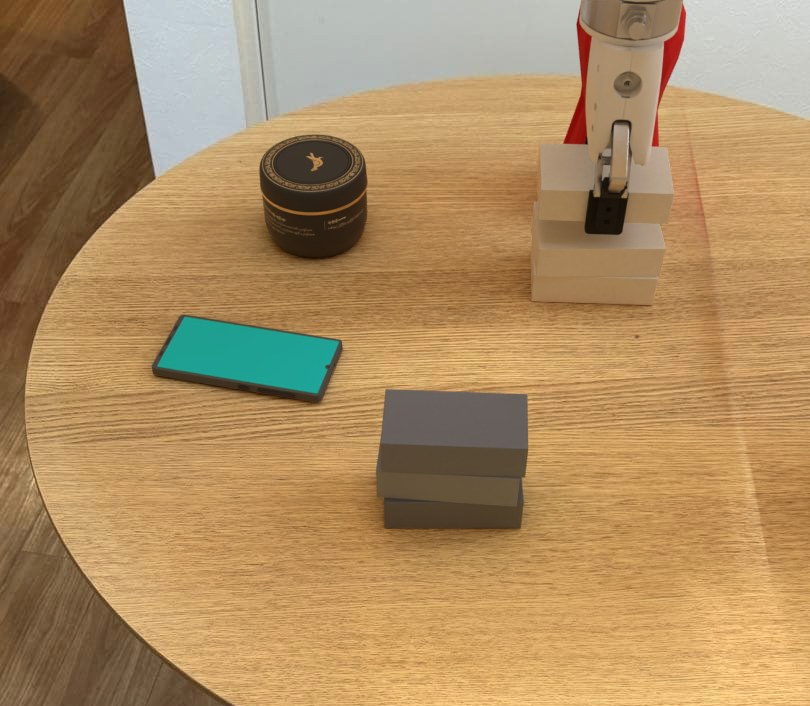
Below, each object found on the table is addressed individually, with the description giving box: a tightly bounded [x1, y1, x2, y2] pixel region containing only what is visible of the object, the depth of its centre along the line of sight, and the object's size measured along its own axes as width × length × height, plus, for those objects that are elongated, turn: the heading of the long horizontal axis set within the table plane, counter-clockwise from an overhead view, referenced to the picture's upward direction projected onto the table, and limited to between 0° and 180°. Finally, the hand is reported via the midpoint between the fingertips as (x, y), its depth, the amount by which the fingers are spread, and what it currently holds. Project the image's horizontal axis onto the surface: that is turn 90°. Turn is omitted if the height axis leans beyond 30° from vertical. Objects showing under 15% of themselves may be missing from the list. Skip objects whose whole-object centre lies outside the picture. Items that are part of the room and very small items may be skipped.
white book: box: [536, 142, 675, 225], centre depth 99 cm, size 11×7×3 cm, turn 87°
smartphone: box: [151, 314, 344, 403], centre depth 99 cm, size 7×1×15 cm
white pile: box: [529, 201, 667, 306], centre depth 105 cm, size 11×8×6 cm
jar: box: [258, 133, 369, 259], centre depth 109 cm, size 10×10×8 cm
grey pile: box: [375, 388, 529, 529], centre depth 86 cm, size 11×6×9 cm, turn 87°
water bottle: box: [562, 0, 687, 147], centre depth 106 cm, size 9×11×25 cm
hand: (600, 204), depth 101 cm, fingers closed on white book, 7 cm apart
